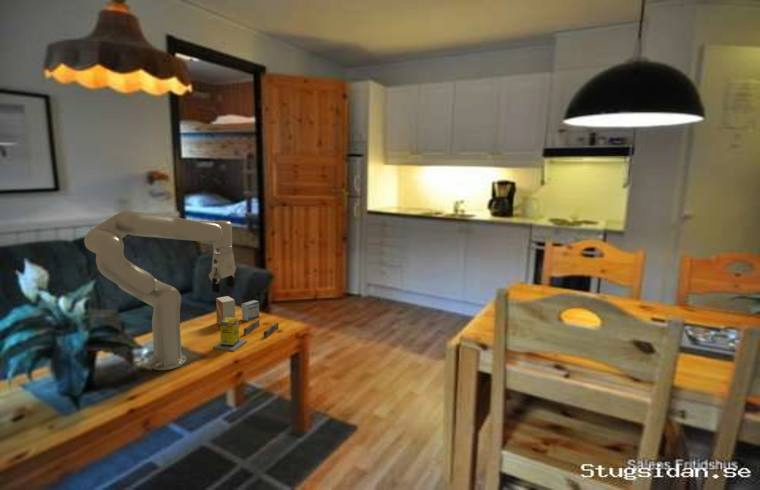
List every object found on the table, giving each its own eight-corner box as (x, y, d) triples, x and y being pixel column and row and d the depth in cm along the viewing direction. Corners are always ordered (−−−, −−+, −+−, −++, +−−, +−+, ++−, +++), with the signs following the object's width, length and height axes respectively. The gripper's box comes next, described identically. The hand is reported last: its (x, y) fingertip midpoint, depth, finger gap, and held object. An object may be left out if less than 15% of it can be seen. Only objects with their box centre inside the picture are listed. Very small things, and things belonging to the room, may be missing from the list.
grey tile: (234, 351, 175) (234, 349, 175) (213, 348, 177) (213, 346, 177) (246, 342, 184) (246, 340, 184) (226, 339, 187) (226, 337, 186)
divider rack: (266, 337, 190) (266, 331, 189) (243, 334, 192) (243, 328, 192) (278, 328, 201) (278, 322, 201) (257, 325, 204) (257, 319, 203)
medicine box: (247, 321, 209) (247, 305, 207) (241, 319, 211) (241, 303, 209) (259, 317, 216) (259, 301, 214) (253, 315, 218) (253, 299, 216)
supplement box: (233, 346, 177) (233, 322, 175) (220, 345, 178) (219, 321, 176) (239, 341, 183) (239, 317, 181) (226, 340, 184) (225, 316, 182)
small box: (216, 323, 205) (215, 297, 203) (228, 320, 209) (228, 295, 207) (223, 328, 199) (222, 302, 197) (235, 325, 204) (235, 299, 201)
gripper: (217, 254, 165) (218, 295, 168) (242, 247, 182) (242, 285, 184) (201, 252, 167) (202, 293, 170) (227, 246, 183) (228, 283, 186)
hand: (223, 289), depth 177 cm, fingers open, 9 cm apart
